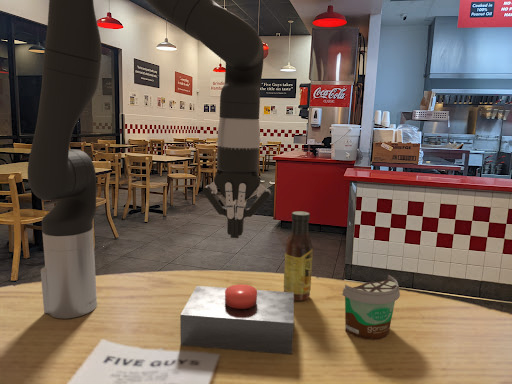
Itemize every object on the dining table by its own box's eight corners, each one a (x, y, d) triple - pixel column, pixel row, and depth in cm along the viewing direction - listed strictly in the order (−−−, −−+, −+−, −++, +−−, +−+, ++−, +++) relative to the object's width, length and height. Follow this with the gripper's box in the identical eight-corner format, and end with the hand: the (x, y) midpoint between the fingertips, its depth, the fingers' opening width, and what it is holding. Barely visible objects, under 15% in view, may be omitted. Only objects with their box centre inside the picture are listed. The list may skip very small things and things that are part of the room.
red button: (222, 331, 72) (222, 297, 71) (227, 315, 78) (227, 283, 76) (254, 334, 71) (255, 299, 70) (257, 317, 77) (258, 285, 76)
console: (180, 345, 70) (180, 314, 69) (196, 312, 82) (196, 285, 80) (292, 354, 68) (293, 323, 67) (292, 319, 80) (293, 292, 79)
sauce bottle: (309, 304, 87) (314, 218, 83) (281, 300, 88) (285, 215, 84) (311, 291, 93) (315, 211, 89) (285, 288, 94) (288, 209, 91)
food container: (361, 350, 70) (366, 298, 68) (339, 333, 75) (343, 284, 74) (409, 334, 76) (415, 286, 74) (385, 319, 81) (390, 274, 79)
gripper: (197, 144, 67) (195, 240, 70) (274, 148, 65) (268, 246, 69) (206, 141, 74) (205, 228, 77) (276, 144, 73) (271, 233, 76)
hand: (235, 236), depth 73 cm, fingers closed
